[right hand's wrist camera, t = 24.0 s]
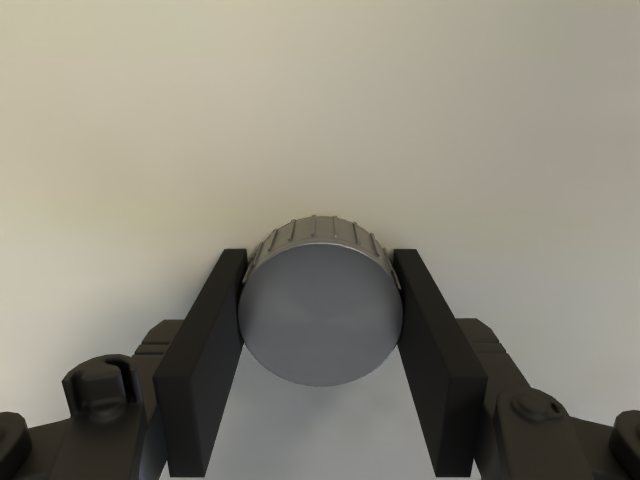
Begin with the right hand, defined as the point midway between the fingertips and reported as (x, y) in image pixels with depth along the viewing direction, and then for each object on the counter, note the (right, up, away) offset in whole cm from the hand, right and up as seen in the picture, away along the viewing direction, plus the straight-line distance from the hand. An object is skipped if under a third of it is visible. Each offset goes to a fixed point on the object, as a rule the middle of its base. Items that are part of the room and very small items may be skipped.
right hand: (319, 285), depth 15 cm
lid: (0, -1, -2) cm, 2 cm away
